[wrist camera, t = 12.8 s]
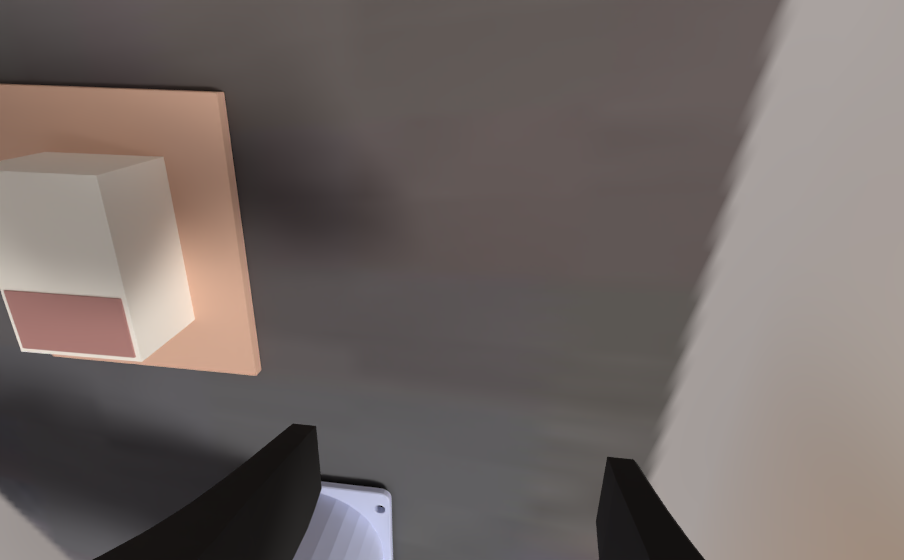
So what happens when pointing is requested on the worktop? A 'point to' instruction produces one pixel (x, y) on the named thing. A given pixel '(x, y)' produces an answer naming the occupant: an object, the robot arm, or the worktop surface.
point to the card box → (91, 255)
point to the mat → (192, 191)
